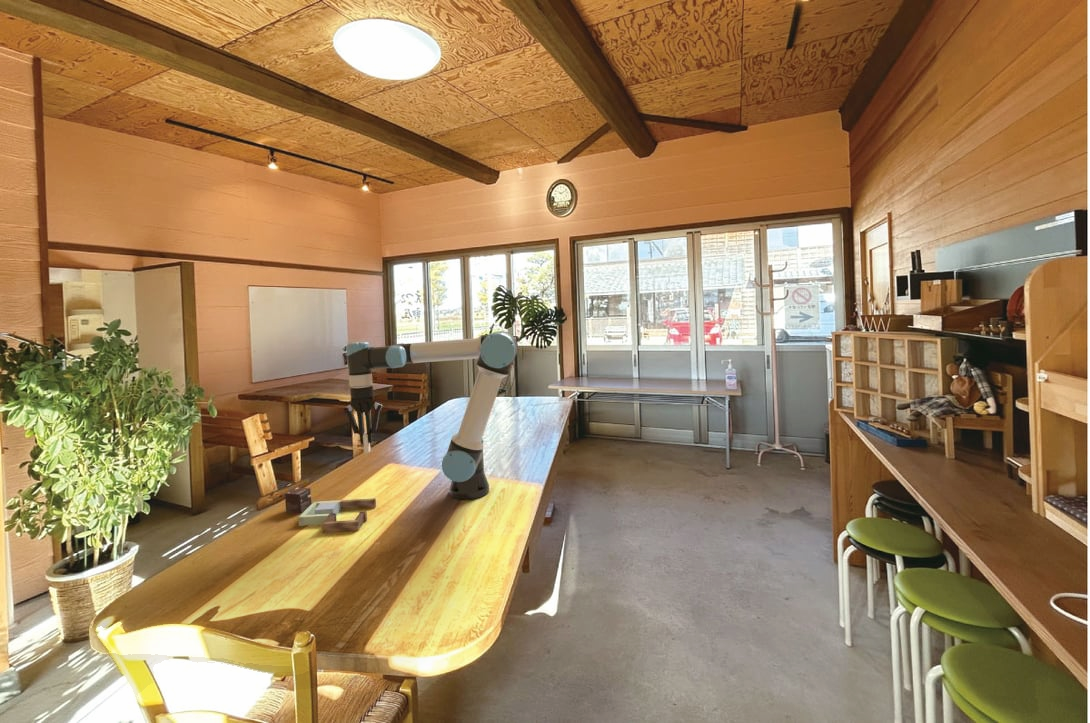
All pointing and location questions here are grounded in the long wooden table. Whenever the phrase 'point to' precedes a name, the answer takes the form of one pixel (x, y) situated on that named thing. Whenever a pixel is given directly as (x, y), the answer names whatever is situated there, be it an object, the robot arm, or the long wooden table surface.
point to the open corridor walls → (351, 525)
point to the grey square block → (327, 508)
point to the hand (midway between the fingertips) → (367, 451)
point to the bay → (312, 519)
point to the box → (297, 500)
